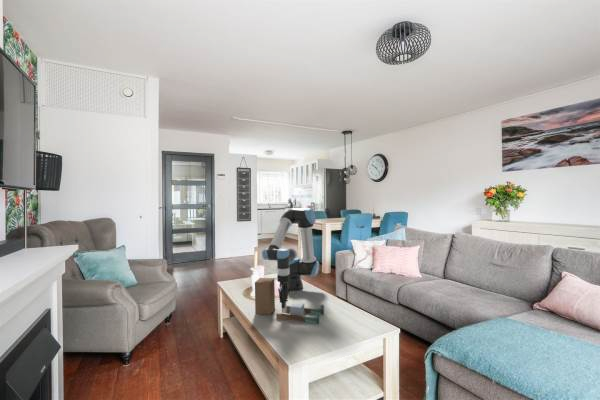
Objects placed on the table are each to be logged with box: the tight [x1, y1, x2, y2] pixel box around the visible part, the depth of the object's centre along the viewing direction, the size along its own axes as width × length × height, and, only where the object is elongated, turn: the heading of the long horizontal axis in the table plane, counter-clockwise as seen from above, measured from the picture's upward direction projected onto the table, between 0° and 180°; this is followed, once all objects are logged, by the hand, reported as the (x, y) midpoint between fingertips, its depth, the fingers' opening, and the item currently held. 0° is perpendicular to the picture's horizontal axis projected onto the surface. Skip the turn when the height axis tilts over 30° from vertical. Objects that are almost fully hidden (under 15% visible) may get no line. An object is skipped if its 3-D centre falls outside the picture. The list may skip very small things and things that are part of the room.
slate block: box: [289, 301, 305, 316], centre depth 172 cm, size 7×7×7 cm
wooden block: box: [254, 277, 276, 316], centre depth 180 cm, size 10×10×20 cm
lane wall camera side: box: [275, 312, 320, 325], centre depth 166 cm, size 1×26×6 cm, turn 73°
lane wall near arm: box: [286, 303, 325, 316], centre depth 178 cm, size 1×26×6 cm, turn 73°
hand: (284, 312), depth 175 cm, fingers closed
